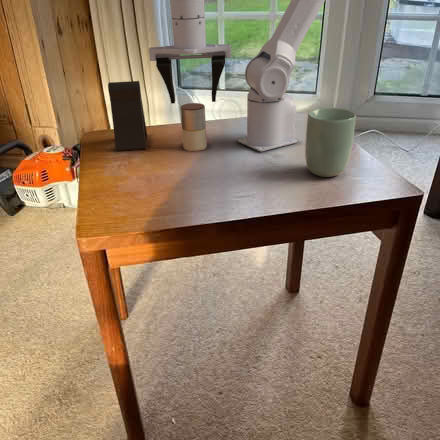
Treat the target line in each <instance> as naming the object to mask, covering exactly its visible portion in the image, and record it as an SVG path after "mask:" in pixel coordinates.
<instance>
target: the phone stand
mask: <svg viewBox="0 0 440 440" xmlns="http://www.w3.org/2000/svg"><path fill="white" fill-rule="evenodd" d="M140 83H141V82H140V80H135V81H134V80H133V81H131V80H129V81H111V82H108V83H107V90H108V97H109V103H110V110H111V119H112V127H113V135H114V136H113V137H114V144H115V151H116V152H124V151H125V152H126V151H143V150H147V144H148V132H147V131H148V130H147V123H146V119H145V111H144V105H143V104H144V103H143V99H142V98H143V97H142V91H141V84H140Z"/></svg>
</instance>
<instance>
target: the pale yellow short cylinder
mask: <svg viewBox="0 0 440 440" xmlns="http://www.w3.org/2000/svg"><path fill="white" fill-rule="evenodd" d="M206 127H207V126H206ZM206 127H205V128H204V129H201V130H196V131H189V130H184V129H182V128H181V137H182V147H183V149H184V150H185V151H190V152H199V151H203V150H205V149H206V148H207V147H208V143H207V128H206Z"/></svg>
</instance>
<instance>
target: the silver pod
mask: <svg viewBox="0 0 440 440" xmlns="http://www.w3.org/2000/svg"><path fill="white" fill-rule="evenodd" d="M179 108H180V109H179V111H180V121H181V122H180V123H181V130H182V129H184V130H189V131H196V130H201V129H204V128H205V127H207V121H206V120H207V119H206V118H207V117H206V106H205V104H203V103H201V102H200V103H199V102H190V103H189V102H188V103H184V104H182V105H180V107H179Z"/></svg>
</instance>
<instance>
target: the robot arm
mask: <svg viewBox="0 0 440 440" xmlns="http://www.w3.org/2000/svg"><path fill="white" fill-rule="evenodd" d="M169 2H170V17H171V26H172V27H171V28H172V41H173V45H165V46H152V47H151V46H150V47H149V48H148V54H149V55H148V56H149V62H156V64H155V66H156V69H157V71H158V72H159V74H160V77H161V78H162V80H163V82H164V84H165V87H166V90H167V93H168V95H169V99H170V104H176V94H175V87H174V79H173V78H174V77H173V65H172V64H173V63H172V62H173V61H172V60H193V59H195V60H197V59H211V61H210V63H211V102H212V103H216V102H217V92H218V86H219V82H220V79H221V76H222V74H223V71H224V68H225V66H226V59H231V58H232V44H230V43H228V44H227V43H226V44H225V43H224V44H223V43H221V44H219V43H216V44H215V43H207V38H206V37H207V36H206V12H205V11H206V10H205V0H170V1H169ZM325 2H326V0H290V2H289V4H288V5H287V7H286V9H285V11H284V13H283V15H282V17H281V19H280V20H279V22H278V24H277V26H276V28H275V29H274V32H273V34H272V36H271V37H270V38H269V39H268V40H267V42H265V43H264V44H263V45H262V46H261V49H260V50H259V52H258V53H257V54H256V55H255V56H254V57H253V58H251V59H250V60H249V62H248V63H247V64H246V66H245V70H244V71H245V72H244V78H245V83H246V84H247V85H248V86H249V91H248V92H247V95H246V101H247V102H246V137H243V138H239V139H238V143H240V144H242V145H244V146H246V147H249V148H251V149H252V150H255V151H257V152H259V153H263V152H266V151H270V150H274V149H278V148H282V147H286V146H289V145H293V144H297V142H298V140H297V139H296V138H295V137H296V123H297V122H296V121H297V105H296V101H295V100H294V98H293V96H291V95H290V94H288V93H286V92H287V90H288V89H289V85H290V79H291V74H292V72H293V70H294V68H295V67H296V53H297V51H298V50H299V48H300V46H301V44H302V42H303V40H304V39H305V37H306V35H307V34H308V32H309V29H310V28H311V26H312V25H313V23H314V21H315V20H316V17H317V16H318V14H319V11H320V10H321V8H322V7H323V5H324V3H325Z"/></svg>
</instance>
